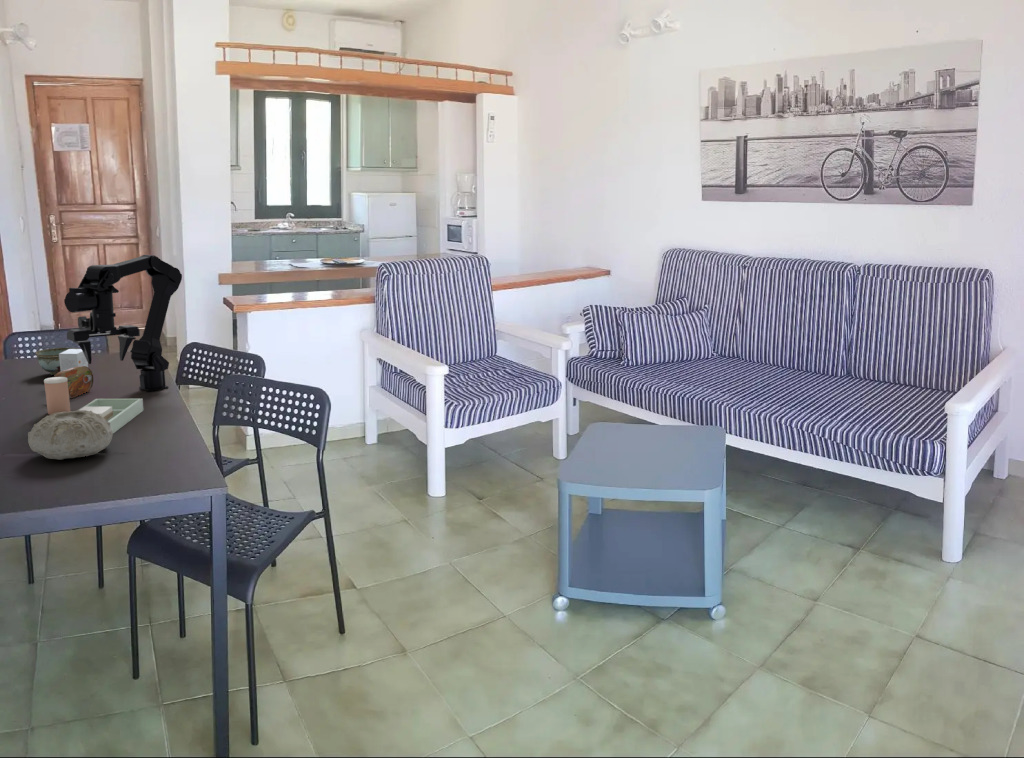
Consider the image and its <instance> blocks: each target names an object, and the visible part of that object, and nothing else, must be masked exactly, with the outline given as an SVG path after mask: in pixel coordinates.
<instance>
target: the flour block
mask: <svg viewBox="0 0 1024 758" xmlns="http://www.w3.org/2000/svg"><path fill="white" fill-rule="evenodd" d="M82 407H83V408H82ZM82 407H81V408H82V409H81V408H79V409H80V410H87V411H92V412H93V413H96V414H99V415H100V416H102V417H103V418H104V419H106V420H107V421H109V420H110V419H112V418H113V410H112V407H84V406H82Z"/></svg>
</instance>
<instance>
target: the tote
mask: <svg viewBox="0 0 1024 758" xmlns="http://www.w3.org/2000/svg"><path fill="white" fill-rule="evenodd" d="M83 407H112V410H113V418H112V419H110V420H109V421H108V422H110V426H111V428H112V431H113V434H114V433H116V432H118V431H119V430H120V429H121V428H122V427H124V426H125V425H127V424H128V423H129V422H130V421H132V420H133V419H134V418H136V417H137V416H139V414H140V413H142V412H144V400H143V398H95V399H93V400H91V402H89V403H87V404H86V405H83V406H82V407H80V408H79V409H78V410H80V409H82V408H83Z"/></svg>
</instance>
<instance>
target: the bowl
mask: <svg viewBox="0 0 1024 758" xmlns="http://www.w3.org/2000/svg"><path fill="white" fill-rule="evenodd" d="M68 349H80V348H79V347H78V348H77V347H53V348H46V349H41V350H38V351H36V352H35V353H34V354H35V355H36V358H37V362H38V364H39V366H40V367H41V369H43V370H44V371H46V372H47V373H49V374H51V375H56V374H57V373H58V372H61V370H60V361H59V354H60V353H62V352H64V351H66V350H68ZM51 375H50V376H51Z"/></svg>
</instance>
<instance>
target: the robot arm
mask: <svg viewBox="0 0 1024 758" xmlns="http://www.w3.org/2000/svg"><path fill="white" fill-rule="evenodd" d="M143 271H145V272H146V274H147V275H148V276H149V277H151V286H152V290H153V294H152V295H153V296H152V299H151V303H150V306H149V311H148V314H147V318H146V322H145V326H144V329H143V334H142V336H141V331H140V328H139V327H138V326H136V325H131V324H126V325H119V326H118V328H117V326H115V317H116V316H117V315H116V312H115V311H114V297H113V295H114V294H118V293H119V292H120V291H119V289H118V288H116V287H115V286H114V285H115V284H117V283H118V282H120V280H121V279H122V278H124V277H127V276H131V275H134V274H137V273H141V272H143ZM182 278H183V275H182V273H181V271H180V269H179V268H178V267H174V266H173V265H172V264H169V263H168V262H166V261H163V260H162V259H161V258H159V257H158V256H156V255H153V254H142V255H141V256H138V257H135V258H131V259H127V260H124V261H121V262H117V263H113V264H92V265H89V266H88V267H87V268H86V271H85V274H84V276H83V277H82V279H81V281H80V283H79V285H78V287H69V288H68V292H67V294H65V298H64V306H65V309H66V310H67V311H68V312H70V313H80V312H81V313H82V312H87V311H88V312H89V318H87V316H86V315H84V316H83V315H82V316H78V317H77V325H78V328H75V329H68V331H67V333H66V339H67V340H69V341H71V342H72V343H75V344H77V345H78V346H79V347H80V348H79V349H82V351H83V353H84V355H85V357H86V360H87V362H88V365H91V364H92V343H91V341H89V339H90V338H98V337H110V336H112V337H113V336H117V338H118V341H119V360H120V361H121V362H123V361H124V359H125V357H126V355H127V353H128V350H129V347H130V346H131V345H132V347H131V350H130V353H131V355H130V359H131V360H132V362H133V363H134V366H135V368H136V370H140V374H139V387H138V388H139V389H140V390H144V391H147V392H153V391H158V390H163V389H168V388H169V386H168V385H166V375H165V371H166V370H169V364H170V362H169V361H168V360H167V359H166V358H164V356H163V355H162V354H163V347H162V344H161V335H162V332H163V327H164V324H165V320H166V317H167V316H166V315H167V313H168V312H167V311H168V310H169V309H168V308H169V306H170V305H169V304H170V300H171V297H172V296H173V295H174V294H175V293H176V292H177V290H178V289H179V287H180V285H181V283H182V280H183V279H182ZM140 336H141V337H140ZM136 337H140V338H139V339H136Z"/></svg>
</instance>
